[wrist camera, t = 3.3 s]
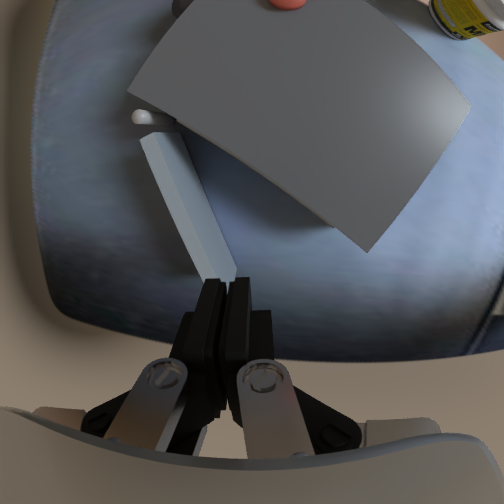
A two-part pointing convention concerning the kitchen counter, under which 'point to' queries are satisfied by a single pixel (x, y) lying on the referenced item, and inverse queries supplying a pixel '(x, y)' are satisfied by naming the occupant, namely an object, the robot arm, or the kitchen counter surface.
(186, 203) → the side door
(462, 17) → the supplement bottle
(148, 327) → the kitchen counter surface
